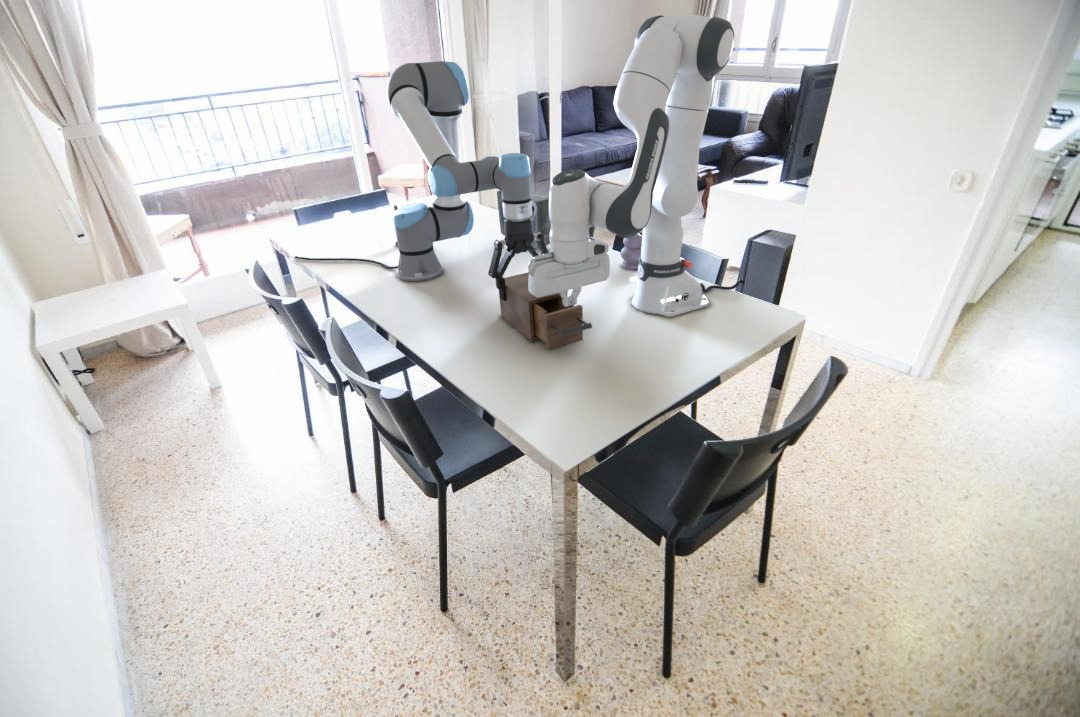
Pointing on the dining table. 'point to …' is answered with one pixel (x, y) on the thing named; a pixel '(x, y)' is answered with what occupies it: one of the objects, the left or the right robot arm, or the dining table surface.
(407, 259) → the left robot arm
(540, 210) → the concrete block
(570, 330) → the drawer
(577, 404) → the dining table surface
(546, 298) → the cabinet
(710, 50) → the right robot arm
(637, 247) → the cat figurine
